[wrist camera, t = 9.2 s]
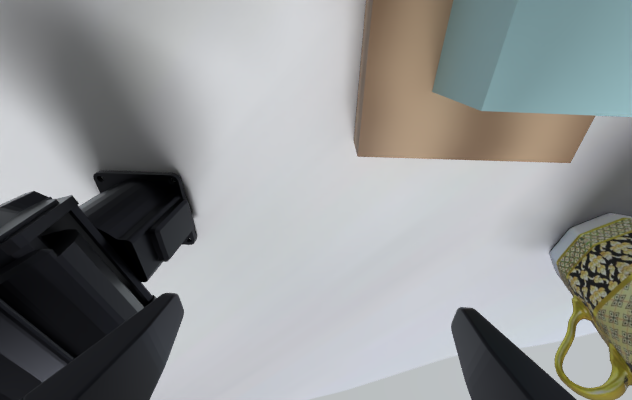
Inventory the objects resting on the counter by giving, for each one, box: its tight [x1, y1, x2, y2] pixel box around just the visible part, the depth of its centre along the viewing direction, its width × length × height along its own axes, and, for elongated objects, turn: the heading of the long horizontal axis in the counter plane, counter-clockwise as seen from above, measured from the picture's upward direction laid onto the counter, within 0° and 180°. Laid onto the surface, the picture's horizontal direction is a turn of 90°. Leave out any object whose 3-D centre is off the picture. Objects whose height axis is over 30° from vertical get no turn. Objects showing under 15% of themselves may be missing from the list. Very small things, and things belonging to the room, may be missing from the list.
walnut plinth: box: [354, 0, 595, 163], centre depth 13 cm, size 12×12×3 cm
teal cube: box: [432, 0, 632, 117], centre depth 10 cm, size 5×5×5 cm
